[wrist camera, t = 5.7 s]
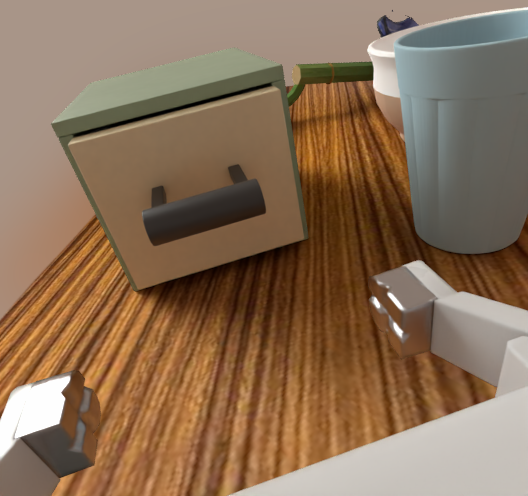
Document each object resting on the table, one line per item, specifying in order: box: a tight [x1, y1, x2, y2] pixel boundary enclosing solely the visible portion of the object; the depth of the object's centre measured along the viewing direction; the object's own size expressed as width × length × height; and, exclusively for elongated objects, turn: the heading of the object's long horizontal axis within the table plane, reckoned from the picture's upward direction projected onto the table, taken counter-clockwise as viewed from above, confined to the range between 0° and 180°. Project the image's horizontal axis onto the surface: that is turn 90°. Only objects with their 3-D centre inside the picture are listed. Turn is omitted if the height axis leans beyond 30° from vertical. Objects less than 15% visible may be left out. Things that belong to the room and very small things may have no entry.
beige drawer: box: [68, 86, 304, 289], centre depth 23 cm, size 17×10×9 cm, turn 14°
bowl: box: [368, 8, 528, 141], centre depth 32 cm, size 16×16×8 cm
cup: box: [394, 10, 528, 254], centre depth 20 cm, size 8×8×10 cm
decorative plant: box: [287, 62, 374, 106], centre depth 46 cm, size 6×8×30 cm
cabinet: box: [51, 48, 309, 291], centre depth 27 cm, size 13×11×10 cm
